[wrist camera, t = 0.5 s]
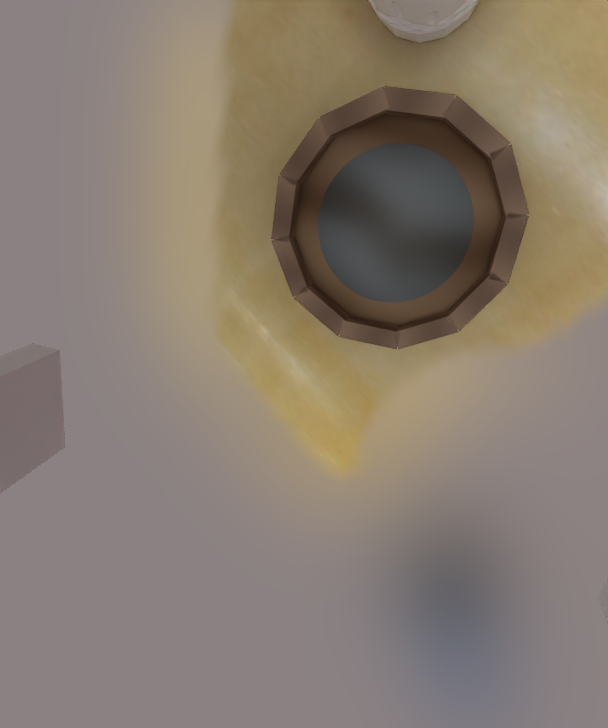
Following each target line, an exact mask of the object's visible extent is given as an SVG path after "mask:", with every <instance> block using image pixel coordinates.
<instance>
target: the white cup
mask: <svg viewBox="0 0 608 728" xmlns="http://www.w3.org/2000/svg"><path fill="white" fill-rule="evenodd" d="M368 1H369V3H370V4H371V6H372V7H373V9H374V10H375V12H376V14H377V17H378V18H379V19H380V20H381V21H382V22H383V23H384V25H385V26H386V27H387V28H388V29H389V30H390V31H391V32H392V33H393V34H394V35H395V36H396V37H400V38H403V39H407V40H410V41H414V42H417V43H422V42H426V41H430V40H435V39H439V38H443V37H446V36H447V35H449V34H450V33H451V32H452V31H454V30H455V29H456V28H457V27H459V26H460V25H461V24H462V23H464V22H465V21H466V20H468V19H469V18H470V16H471V14H472V12H473V11H474V9H475V7H476V6H477V4H478V2H479V1H480V0H368Z"/></svg>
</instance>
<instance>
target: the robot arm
mask: <svg viewBox="0 0 608 728" xmlns="http://www.w3.org/2000/svg"><path fill="white" fill-rule="evenodd" d="M63 448H65V433H64V415H63V398H62V380H61V363H60V350H58V349H54V348H50V347H45V346H41V345H37V344H33V343H32V344H30V345H27V346H24V347H22V348H19V349H17V350H14V351H12V352H9V353H7V354H4V355H2V356H0V493H2V492H3V491H4V490H6V489H7V488H9V487H10V486H11V485H13V484H14V483H16V482H17V481H18V480H20V479H21V478H23V477H24V476H25V475H27V474H28V473H30V472H31V471H32V470H34V469H35V468H37V467H38V466H39V465H41V464H42V463H44V462H45V461H46V460H48V459H49V458H50V457H52V456H54V455H55V454H56V453H58V452H59V451H60V450H62V449H63ZM598 599H599V602H600V604H601V606H602V609H603V611H604V614H605V617H606V619H607V622H608V579H607V581H606V583H605V585H604V587H603V589H602V591H601V593H600V595H599V597H598Z"/></svg>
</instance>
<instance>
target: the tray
mask: <svg viewBox="0 0 608 728" xmlns="http://www.w3.org/2000/svg"><path fill="white" fill-rule="evenodd" d="M454 98H455V95H454V94H445V93H437V92H429V91H420V90H412V89H404V88H396V87H387V86H385V89H384V88H383V87H381V88H379V89H377V90H375V91H373V92H371V93H369V94H366V95H364V96H362V97H360V98H358V99H356V100H354V101H352V102H350V103H348V104H346V105H344V106H342V107H339V108H337V109H335V110H333V111H331V112H329V113H327V114H325V115H323V116H321V117H320V119H321V120H320V119H317V121H316V122H315V124H314V125H313V126H312V128H311V129H310V131H309V132H308V134H307V135H306V137H305V138H304V139H303V141H302V142H301V144H300V145H299V147H298V148H297V150H296V151H295V152H294V154H293V155H292V157H291V158H290V160H289V161H288V163H287V164H286V165H285V167H284V168H283V170H282V171H281V173H280V175H281V176H279V179H278V188H277V196H276V204H275V213H274V221H273V230H272V238H271V239H273V241H272V243H273V246H274V249H275V251H276V254H277V256H278V259H279V262H280V264H281V267H282V270H283V272H284V275H285V277H286V280H287V283H288V285H289V288H290V290H291V293H292V296H293V297H294V296H295V298H294V299H295V300H296V301H298V302H299V303H300V304H301V305H302V306H303V307H305V308H306V309H307V310H308V311H309V312H310V313H312V314H313V315H314V316H315V317H316V318H317V319H318V320H320V321H321V322H322V323H323V324H324V325H325V326H327V327H328V328H329V329H330V330H331V331H332V332H334V333H335V334H336V335H337V336H338V335H339V334H340V336H339V337H342V338H347V339H351V340H356V341H361V342H365V343H370V344H374V345H379V346H384V347H388V348H393V349H397V346H398V349H401V348H404V347H408V346H411V345H415V344H418V343H422V342H425V341H429V340H432V339H436V338H439V337H442V336H446V335H449V334H453V333H456V332H458V330H459V331H460V330H461V329H462V328H463V327H464V326H465V325H466V324H467V323H468V322H469V321H471V320H472V319H473V318H474V317H475V316H476V315H477V314H478V313H479V312H480V311H481V310H482V309H483V308H484V307H485V306H486V305H487V304H488V303H489V302H490V301H491V300H492V299H493V298H494V297H495V296H496V295H497V294H498V293H499V292H500V291H501V290H502V289H503V288H504V287H505V286H506V285H507V284H506V282H507V283H509V279H510V276H511V273H512V269H513V266H514V263H515V260H516V256H517V253H518V250H519V246H520V243H521V240H522V236H523V233H524V230H525V227H526V223H527V220H528V217H529V216H527V215H526V214H529V212H528V208H527V204H526V200H525V196H524V193H523V189H522V185H521V181H520V177H519V173H518V169H517V165H516V161H515V157H514V153H513V149H512V146H511V145H509V146H508V144H509V143H510V142H509V141H508V140H507V139H505V138H504V137H503V136H502V135H501V134H500V133H499V132H498V131H496V130H495V129H494V128H493V127H492V126H491V125H490V124H489V123H487V122H486V121H485V120H484V119H483V118H482V117H481V116H480V115H478V114H477V113H476V112H475V111H474V110H473V109H472V108H471V107H469V106H468V105H467V104H466V103H465V102H464V101H463V100H462V99H460V98H459V97H458V96H456V98H455V99H454ZM457 329H458V330H457Z"/></svg>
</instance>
